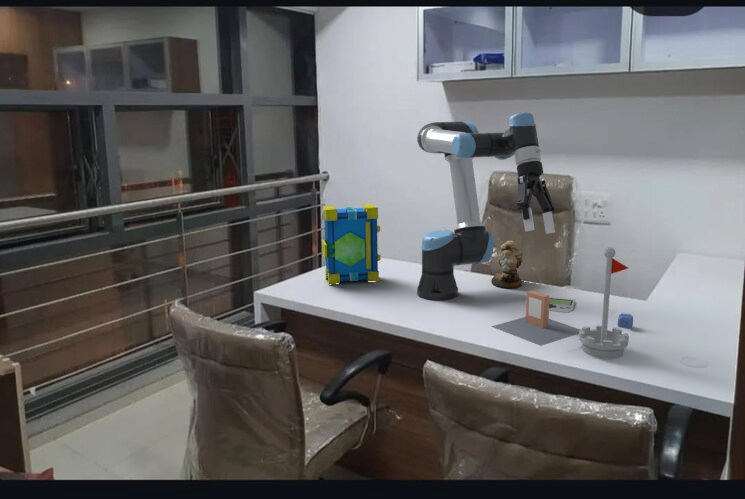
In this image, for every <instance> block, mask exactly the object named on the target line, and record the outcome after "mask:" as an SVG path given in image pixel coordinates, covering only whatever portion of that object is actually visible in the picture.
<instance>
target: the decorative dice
mask: <svg viewBox="0 0 745 499" xmlns="http://www.w3.org/2000/svg"><path fill="white" fill-rule="evenodd" d="M633 325H634V316H633V315H632V314H630V313H620V314H618V317H617V327H619V328H623V329H631V330H632V328H633Z"/></svg>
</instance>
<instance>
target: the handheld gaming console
mask: <svg viewBox="0 0 745 499" xmlns="http://www.w3.org/2000/svg"><path fill="white" fill-rule="evenodd" d="M575 304H576V300H575V299H571V298H570V299H569V298H559V297H550V299H549V312H557V313H567V314H568V313H571V312H573V310H574V307H575Z"/></svg>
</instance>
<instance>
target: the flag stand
mask: <svg viewBox="0 0 745 499" xmlns="http://www.w3.org/2000/svg"><path fill="white" fill-rule="evenodd" d="M616 253H617V252H616V250H615V249H614V248H613V247H611V246H610V247H606V248H605V249H604V251H603V254H604V257H606V258H605V260H606V261H605V272H604V273H605V274H604V285H603V286H604V287H603V288H604V289H603V301H602V302H603V303H602V314H601V316H602V317H601V325H595V329H593V328H592V329H591V327H590V326H588V325H587V326H583V327H581V330H582V331H579V335H578V340H579V342H580V343H581V344H582V346H581V348H582V349H581V350H582V352H583V353H584V354H586V355H587V356H590V357H593V358H598V359H603V360H604V359H606V360H610V359H612V360H613V359H614V360H615V359H618V358H621V357H623V356H624V355H625V354H624V352H625V351H624V350H625V349H626V348H627V347H628V346H629V343H630V342H629V341H630V340H629V339H630V335H629V333H628V332H623V330H622V329H621V328H617V327H613V328H612V330H610V329H608V324H609V322H608V321H609V310H610V297H611V296H610V294H611V282H612V274H616V273H618V272H622V271H625V270H627V269H628V270H629V267H628V266H626V265H624V264H623V263H621V262H619V261H618V260H617V259H615V258H614V257H615V256H616Z"/></svg>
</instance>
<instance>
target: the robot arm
mask: <svg viewBox="0 0 745 499" xmlns="http://www.w3.org/2000/svg"><path fill="white" fill-rule="evenodd" d="M508 127H509V128H508V129H507V130H505V131H503V132H484V133H483V132H479V130H478V128H477V126H476V125H475V124H474V123H473V122H470V121H463V120H460V121H436V122H433V121H432V122H430V123H427V124H425V125H423V126H422V127H421V129H420V130H419V131H418V133H417V137H416V138H417V140H416V141H417V144H418V147H419V148H420V149H421V150H422V151H423V152H426V153H429V154H444V160H445V161H447V163H448V164H449V169H450V170H449V171H450V176H451V186H452V192H453V194H452V195H453V200H454V208H455V216H456V223H457V224H456V227H454V231H453V230H449V229H444V230H443V229H439V230H434V231H430V232H428V233H426V234H424V235H423V236H422V240H421V275H420V279H419V283H418V285H417V288H416V294H417V296H418V297H420V298H423V299H426V300H433V301H445V300H451V299H454V298H457V297H458V296H459V287H458V285H457V281H456V278H455V274H454V272H455V271H454V268H455V266H463V265H464V266H466V265H478V264H483V263H486V262H488V261H489V260H490V259H491V257H492V256H493V253H494V247H495V240H494V239H495V238H494V236H493V234H492V233H491V232H490V231H488V230H487V229H486V228H487V227H486V225H485V224H484V223H482V222H481V215H480V206H479V200H478V194H477V193H478V192H477V188H476V187H477V185H476V177H475V169H474V162H473V159H474V158H487V157H488V158H492V157H493V158H496V159H497V160H499V161H500V160H501V161H502V160H503V161H504V160H507V159H510V158H511V157H513V156H514V162H515V165H516V166H517V167H516V171H517V193H516V194H517V195H516V207H517V210H518V211H519V210H520V211H521V215H522V220H523V227H524V232H525V233H529V232H530V231H531V232H532V231H535V230H536V229H535V224H534V223H535V222H534V217H533V210H532V207H530V205H531V201H532V198H534V197H535V198H536V201H537V202H538V204H539V207H541V210H542V213H541V214H542V219H543V220H542V221H543V225H544V231H545V235H549V234H554V233H556V228H555V223H554V218H553V217H554V216H553V212H555V211H556V209H555V205H554V203H553V200H552V198H551V196H550V192H549V190H548V187H547V184H546V181H545V179H544V180H541V179H540V176H542V175H543V174H544V167H543V162H541V159H542V157H541V152H542V151H541V148H540V146H539V140H538V138H539V137H538V133H537V125H536V122H535V119H534V115H533V114H532V113H530V112H528V111H527V112H519V113H515V114H513V115H511V116H510V117H509V119H508Z"/></svg>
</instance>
